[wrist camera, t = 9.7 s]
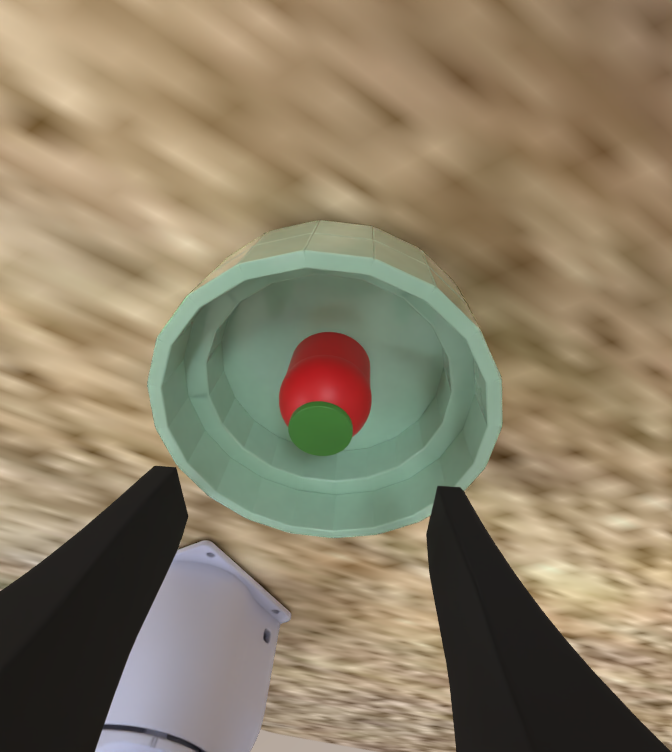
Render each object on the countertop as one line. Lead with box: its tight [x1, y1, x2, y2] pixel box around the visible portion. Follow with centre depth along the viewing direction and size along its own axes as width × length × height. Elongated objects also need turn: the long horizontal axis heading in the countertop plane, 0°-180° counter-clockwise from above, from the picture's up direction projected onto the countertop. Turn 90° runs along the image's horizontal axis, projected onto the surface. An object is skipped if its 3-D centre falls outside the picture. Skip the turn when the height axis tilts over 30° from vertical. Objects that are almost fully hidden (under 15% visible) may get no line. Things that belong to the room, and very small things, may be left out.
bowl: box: [147, 220, 503, 538], centre depth 16 cm, size 12×12×4 cm
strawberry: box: [279, 332, 372, 456], centre depth 16 cm, size 4×4×4 cm
